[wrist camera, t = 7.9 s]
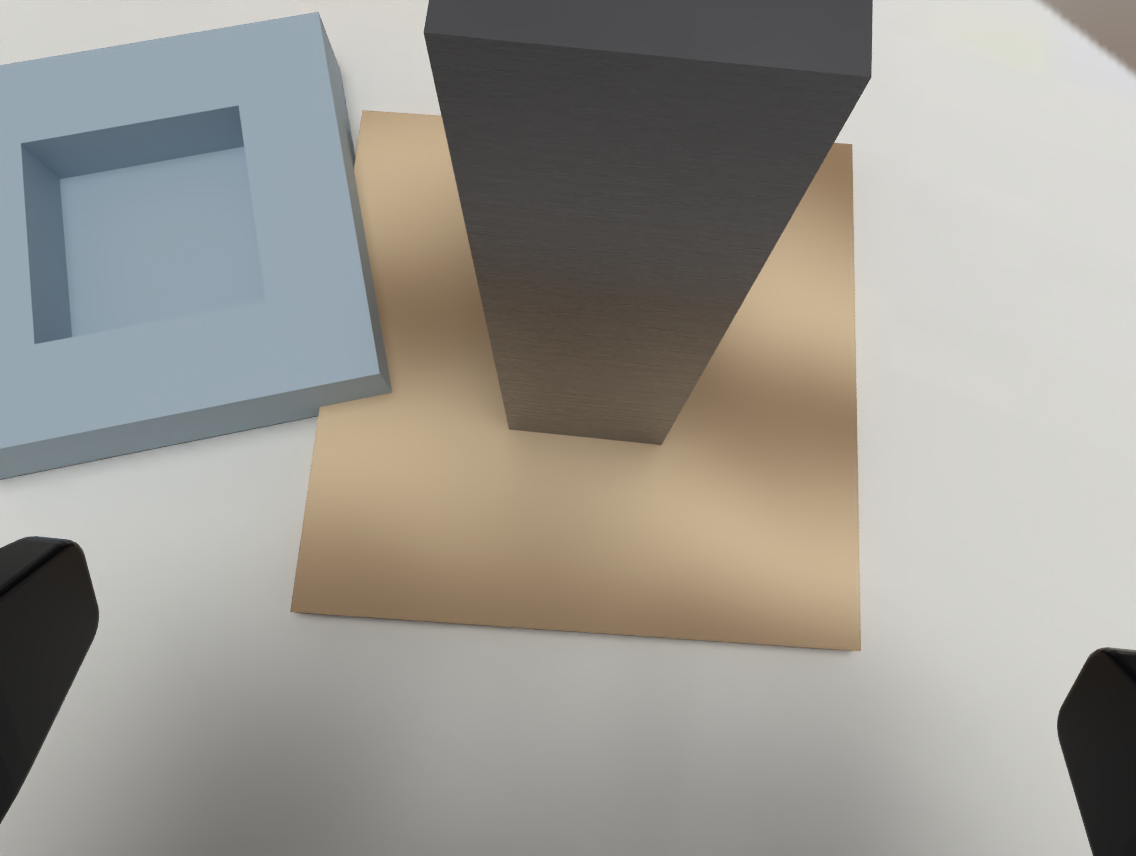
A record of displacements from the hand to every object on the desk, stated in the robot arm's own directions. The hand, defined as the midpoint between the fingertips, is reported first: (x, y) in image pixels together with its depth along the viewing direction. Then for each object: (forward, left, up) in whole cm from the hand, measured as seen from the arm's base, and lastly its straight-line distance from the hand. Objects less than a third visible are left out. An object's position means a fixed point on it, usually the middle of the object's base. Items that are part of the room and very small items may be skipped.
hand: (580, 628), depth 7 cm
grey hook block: (+7, 0, -10) cm, 13 cm away
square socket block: (+8, +10, -11) cm, 17 cm away
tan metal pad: (+6, 0, -11) cm, 13 cm away
